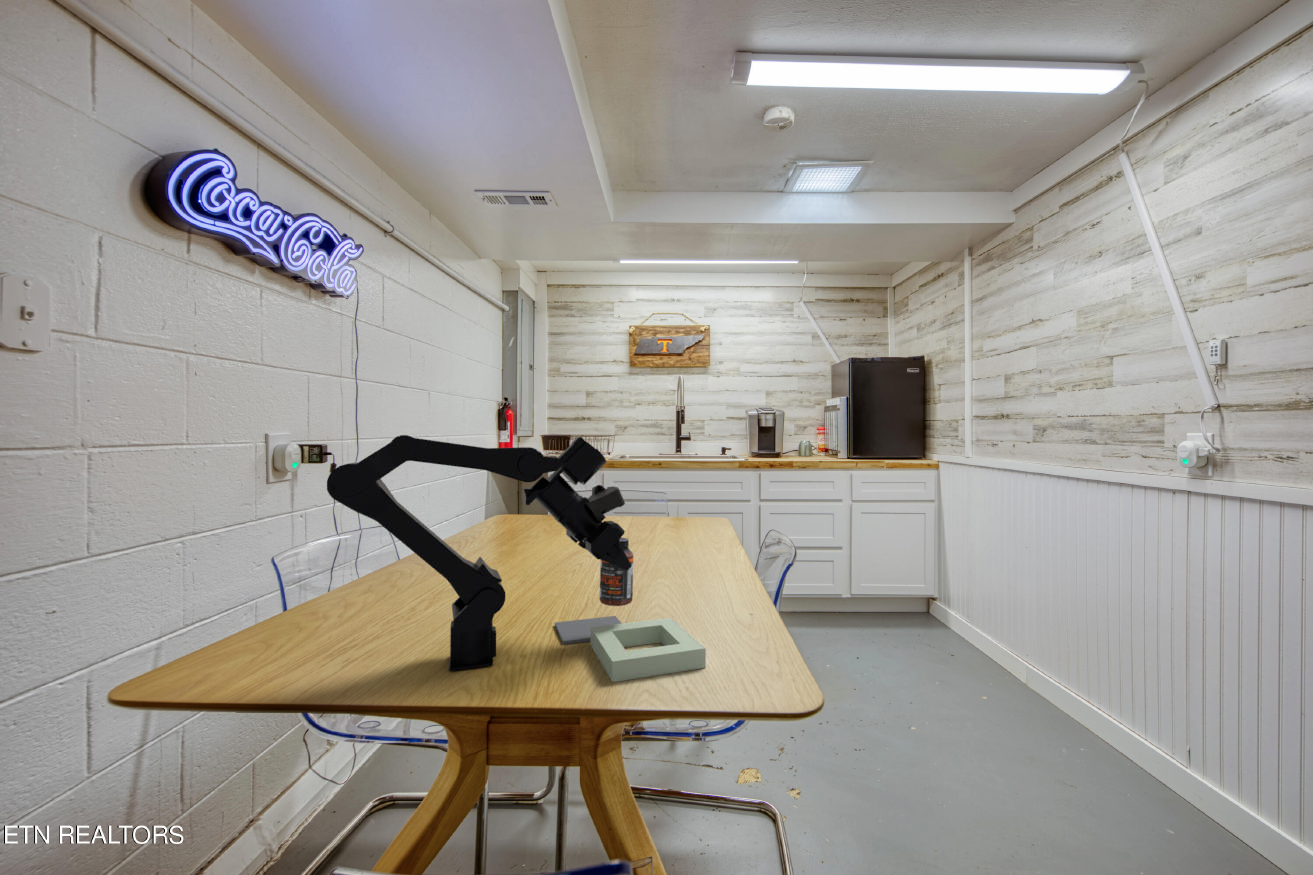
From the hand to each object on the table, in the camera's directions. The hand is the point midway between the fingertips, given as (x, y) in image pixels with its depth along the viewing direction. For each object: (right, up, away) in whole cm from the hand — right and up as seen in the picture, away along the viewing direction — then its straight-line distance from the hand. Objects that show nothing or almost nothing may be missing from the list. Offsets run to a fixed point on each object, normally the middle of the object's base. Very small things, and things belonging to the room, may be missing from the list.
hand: (623, 564), depth 92 cm
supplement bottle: (-1, -7, -1) cm, 7 cm away
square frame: (+4, -13, -8) cm, 16 cm away
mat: (-6, -13, +3) cm, 15 cm away
